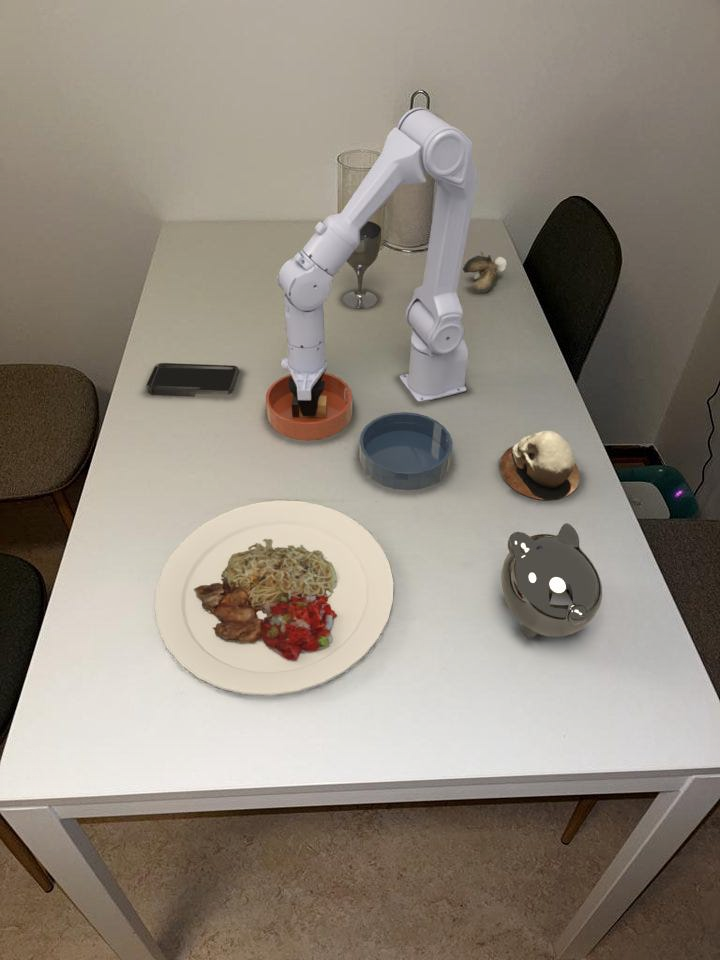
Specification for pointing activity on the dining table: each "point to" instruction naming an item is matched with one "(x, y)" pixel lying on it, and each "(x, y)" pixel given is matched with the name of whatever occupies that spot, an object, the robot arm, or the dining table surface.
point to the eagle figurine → (484, 271)
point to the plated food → (274, 597)
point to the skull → (541, 466)
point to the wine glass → (364, 265)
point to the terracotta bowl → (309, 426)
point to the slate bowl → (405, 451)
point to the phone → (192, 379)
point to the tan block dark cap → (319, 413)
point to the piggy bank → (550, 583)
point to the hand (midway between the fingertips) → (309, 408)
